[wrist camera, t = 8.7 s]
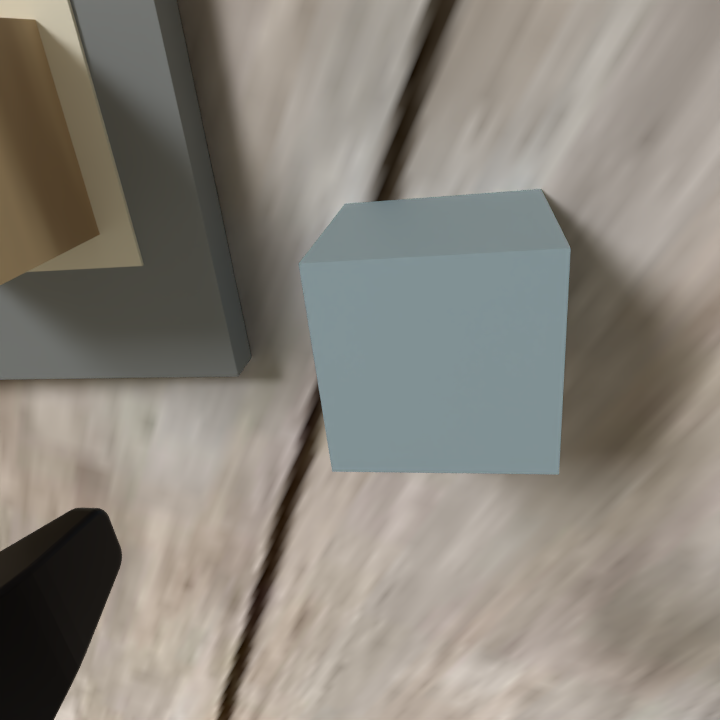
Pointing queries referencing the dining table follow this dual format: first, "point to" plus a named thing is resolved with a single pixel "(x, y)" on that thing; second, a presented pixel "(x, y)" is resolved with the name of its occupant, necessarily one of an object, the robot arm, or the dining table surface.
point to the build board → (128, 210)
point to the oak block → (35, 159)
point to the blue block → (441, 333)
